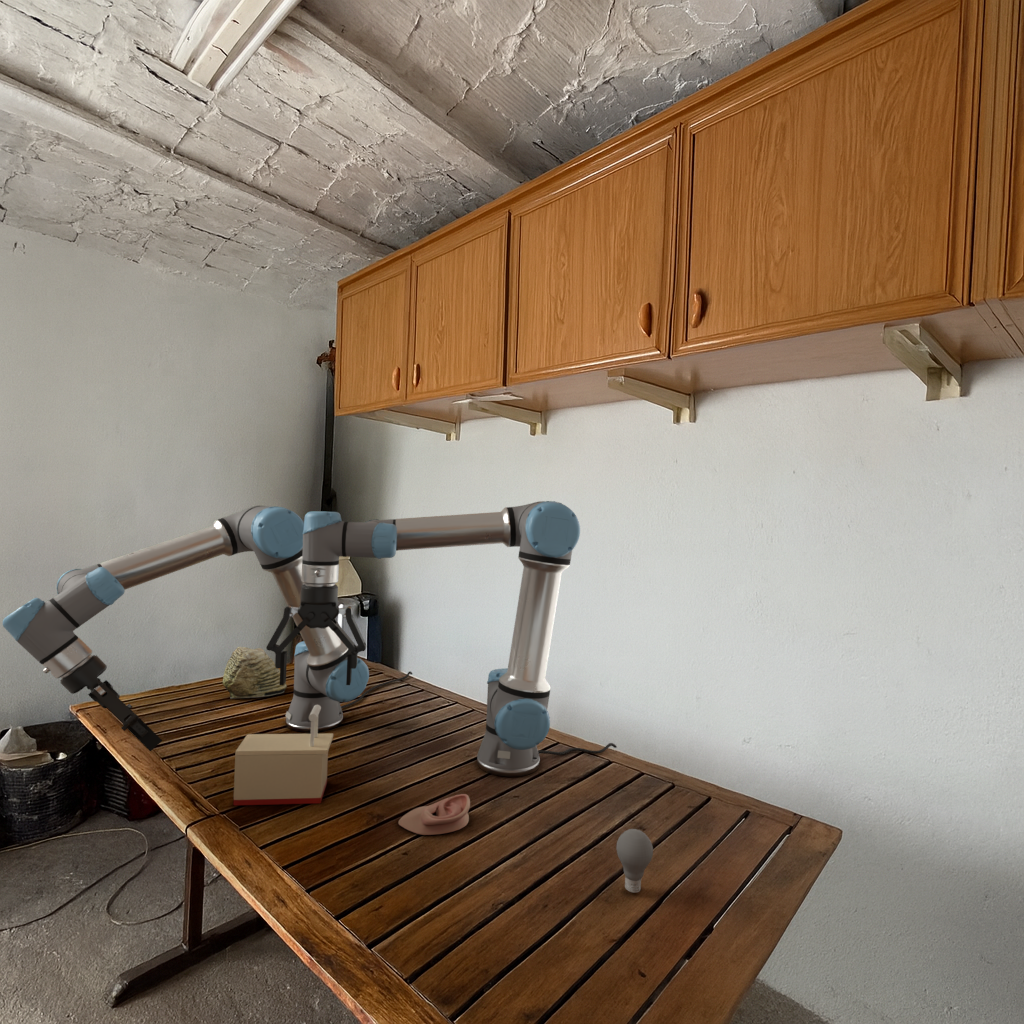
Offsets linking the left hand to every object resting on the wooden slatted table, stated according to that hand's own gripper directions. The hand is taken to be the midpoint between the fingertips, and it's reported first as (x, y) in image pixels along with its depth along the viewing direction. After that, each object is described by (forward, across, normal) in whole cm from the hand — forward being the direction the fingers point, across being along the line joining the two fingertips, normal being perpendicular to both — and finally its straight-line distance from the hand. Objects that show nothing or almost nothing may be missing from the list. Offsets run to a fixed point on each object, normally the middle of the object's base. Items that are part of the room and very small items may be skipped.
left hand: (151, 740), depth 132 cm
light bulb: (+57, +76, +32) cm, 100 cm away
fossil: (+23, -57, +27) cm, 67 cm away
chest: (+25, +12, +10) cm, 29 cm away
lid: (+17, +14, +16) cm, 28 cm away
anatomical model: (+42, +39, +24) cm, 62 cm away
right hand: (+10, +19, +28) cm, 35 cm away
